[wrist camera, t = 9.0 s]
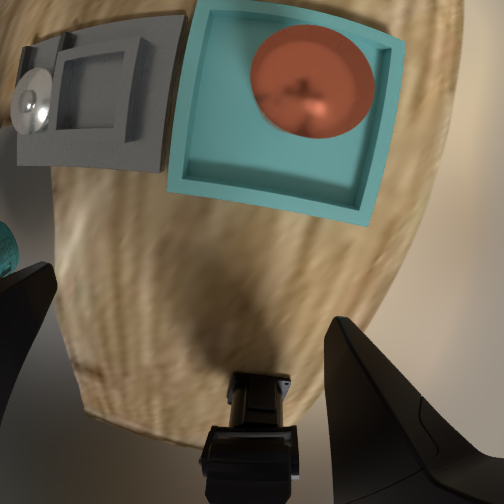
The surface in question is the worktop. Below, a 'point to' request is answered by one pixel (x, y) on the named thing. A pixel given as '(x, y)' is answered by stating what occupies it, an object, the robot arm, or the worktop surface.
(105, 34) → the block
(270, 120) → the pin
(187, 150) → the tray
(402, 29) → the worktop surface
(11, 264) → the teal can
